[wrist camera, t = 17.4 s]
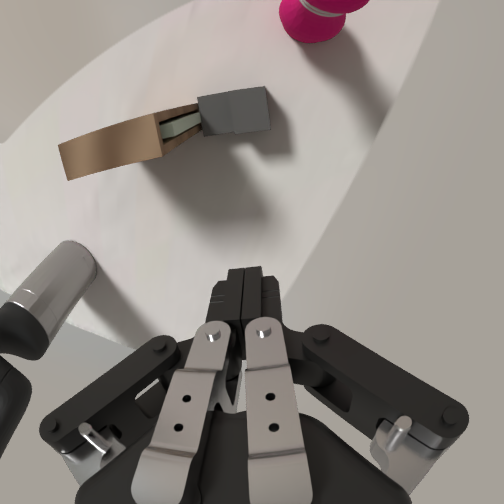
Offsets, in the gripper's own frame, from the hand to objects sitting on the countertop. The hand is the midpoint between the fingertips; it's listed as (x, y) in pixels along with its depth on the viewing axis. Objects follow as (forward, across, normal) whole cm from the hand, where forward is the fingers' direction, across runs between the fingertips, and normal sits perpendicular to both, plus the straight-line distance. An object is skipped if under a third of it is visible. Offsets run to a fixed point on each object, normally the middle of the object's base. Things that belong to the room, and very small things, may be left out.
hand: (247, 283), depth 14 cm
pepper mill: (+27, -9, -18) cm, 33 cm away
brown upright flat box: (+27, +11, -7) cm, 30 cm away
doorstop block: (+27, +2, -7) cm, 28 cm away
